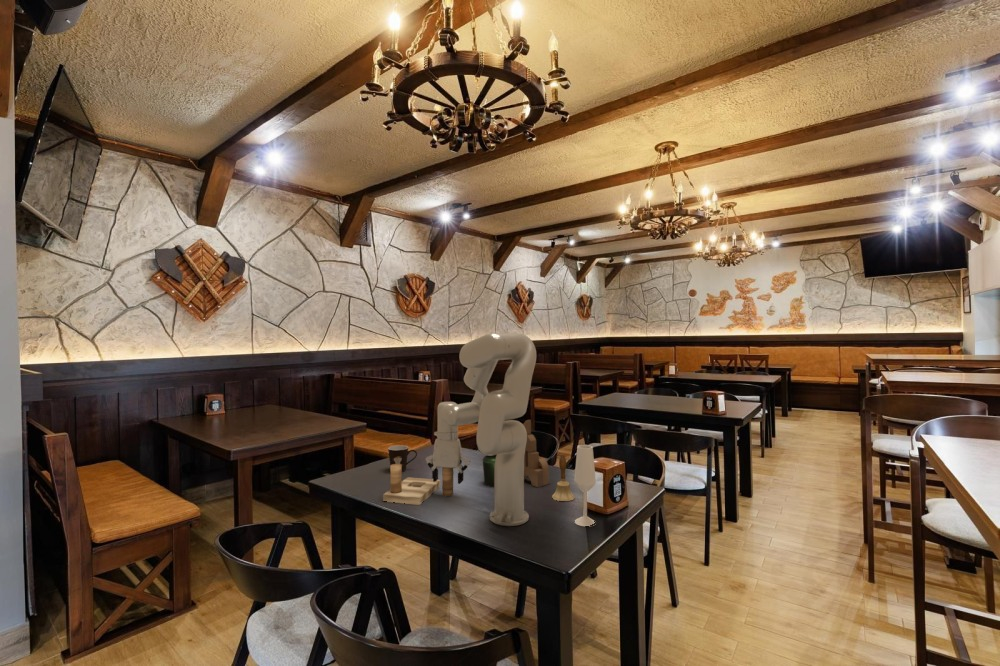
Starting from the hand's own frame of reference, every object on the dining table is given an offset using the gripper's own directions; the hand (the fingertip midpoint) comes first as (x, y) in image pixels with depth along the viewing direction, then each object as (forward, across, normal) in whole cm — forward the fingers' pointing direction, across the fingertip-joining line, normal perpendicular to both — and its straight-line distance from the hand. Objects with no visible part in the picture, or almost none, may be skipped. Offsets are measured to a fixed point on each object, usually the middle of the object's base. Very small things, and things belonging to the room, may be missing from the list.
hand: (447, 481), depth 171 cm
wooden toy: (+5, +27, +23) cm, 36 cm away
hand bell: (+5, +42, +7) cm, 43 cm away
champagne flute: (+5, +51, -13) cm, 53 cm away
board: (+5, -13, -2) cm, 14 cm away
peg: (+5, 0, 0) cm, 5 cm away
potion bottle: (+5, +13, +16) cm, 21 cm away
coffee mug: (+5, -30, +23) cm, 38 cm away
